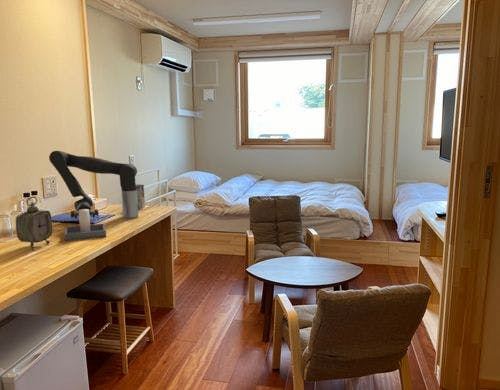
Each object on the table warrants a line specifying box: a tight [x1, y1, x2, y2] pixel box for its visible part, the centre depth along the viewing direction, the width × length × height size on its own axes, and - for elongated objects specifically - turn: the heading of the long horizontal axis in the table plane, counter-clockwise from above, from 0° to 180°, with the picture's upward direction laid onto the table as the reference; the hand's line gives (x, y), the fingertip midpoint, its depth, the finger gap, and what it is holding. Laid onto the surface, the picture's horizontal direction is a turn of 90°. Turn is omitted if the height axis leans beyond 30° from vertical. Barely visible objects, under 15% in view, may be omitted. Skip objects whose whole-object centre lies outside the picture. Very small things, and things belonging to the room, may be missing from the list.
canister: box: [78, 209, 91, 232], centre depth 219 cm, size 5×5×13 cm
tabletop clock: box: [15, 196, 53, 252], centre depth 198 cm, size 14×9×25 cm, turn 168°
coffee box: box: [136, 184, 146, 211], centre depth 281 cm, size 9×6×16 cm
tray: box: [64, 223, 107, 242], centre depth 220 cm, size 20×15×4 cm
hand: (84, 216), depth 223 cm, fingers open, 8 cm apart
